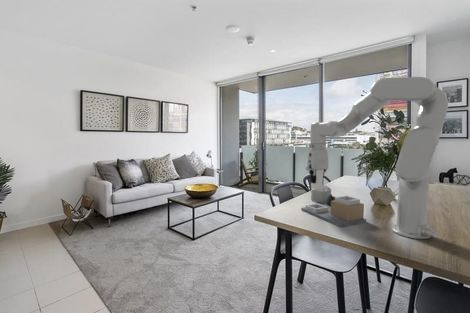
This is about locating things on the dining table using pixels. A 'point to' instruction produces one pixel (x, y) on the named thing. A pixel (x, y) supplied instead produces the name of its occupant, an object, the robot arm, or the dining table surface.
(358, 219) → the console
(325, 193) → the lumpy-topped squat cylinder
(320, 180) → the plug
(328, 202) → the chocolate cake
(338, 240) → the dining table surface
